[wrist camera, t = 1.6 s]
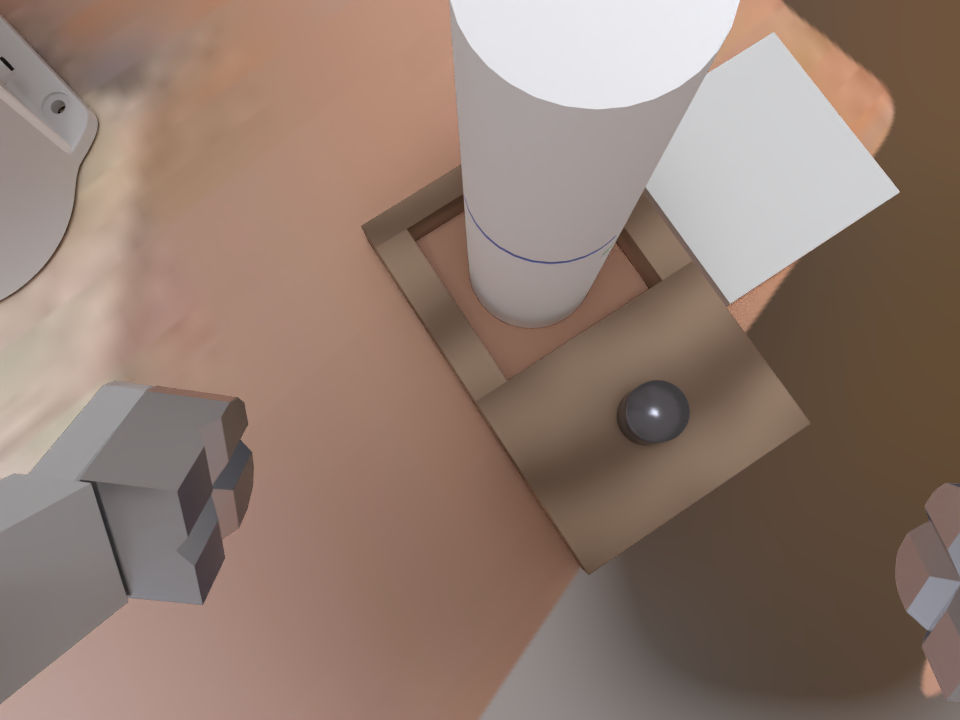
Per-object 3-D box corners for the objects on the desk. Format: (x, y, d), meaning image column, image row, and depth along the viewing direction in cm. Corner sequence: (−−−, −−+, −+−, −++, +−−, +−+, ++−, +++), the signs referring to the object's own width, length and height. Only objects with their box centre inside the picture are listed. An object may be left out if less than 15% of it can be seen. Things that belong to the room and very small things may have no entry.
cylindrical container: (445, 249, 43) (391, -67, 18) (548, 186, 43) (631, -203, 19) (512, 352, 42) (552, 164, 17) (617, 285, 42) (800, 12, 18)
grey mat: (605, 141, 44) (607, 135, 43) (768, 39, 45) (773, 31, 44) (725, 306, 42) (730, 303, 41) (892, 197, 43) (899, 192, 42)
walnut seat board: (368, 240, 43) (351, 205, 38) (567, 117, 44) (579, 66, 39) (582, 569, 40) (597, 582, 34) (791, 426, 41) (837, 418, 36)
